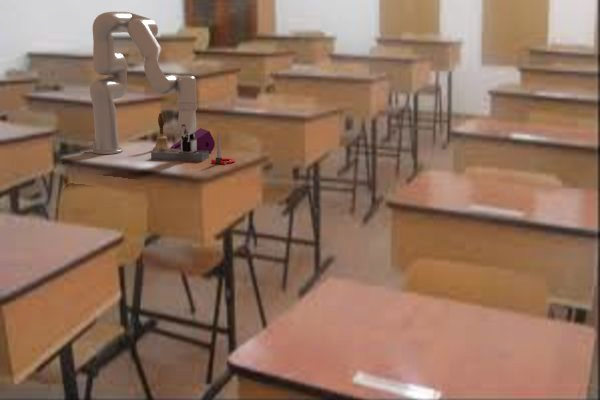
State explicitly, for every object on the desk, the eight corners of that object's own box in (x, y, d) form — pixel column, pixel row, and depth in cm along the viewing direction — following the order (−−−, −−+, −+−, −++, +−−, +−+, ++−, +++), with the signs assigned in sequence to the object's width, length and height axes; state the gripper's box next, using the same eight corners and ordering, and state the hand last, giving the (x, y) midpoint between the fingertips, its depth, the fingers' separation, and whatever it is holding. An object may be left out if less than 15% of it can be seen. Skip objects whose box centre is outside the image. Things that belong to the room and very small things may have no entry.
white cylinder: (181, 157, 309) (180, 141, 307) (185, 155, 314) (185, 139, 312) (192, 158, 308) (192, 141, 306) (197, 156, 313) (196, 139, 311)
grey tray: (151, 159, 310) (150, 152, 309) (159, 155, 318) (159, 148, 317) (202, 161, 305) (201, 154, 305) (209, 157, 314) (208, 150, 313)
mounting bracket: (183, 169, 320) (217, 147, 326) (174, 152, 316) (209, 131, 322) (175, 165, 328) (208, 144, 334) (166, 148, 324) (200, 128, 330)
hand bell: (149, 150, 329) (147, 114, 325) (158, 147, 337) (156, 111, 333) (166, 151, 327) (165, 115, 323) (175, 148, 334) (173, 112, 330)
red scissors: (222, 160, 311) (209, 163, 303) (222, 129, 308) (209, 131, 300) (239, 162, 307) (226, 165, 299) (239, 131, 304) (226, 133, 296)
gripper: (185, 103, 314) (187, 146, 319) (171, 108, 298) (172, 153, 303) (203, 104, 313) (204, 147, 317) (189, 109, 297) (190, 154, 301)
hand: (188, 149), depth 310 cm, fingers closed on white cylinder, 5 cm apart
